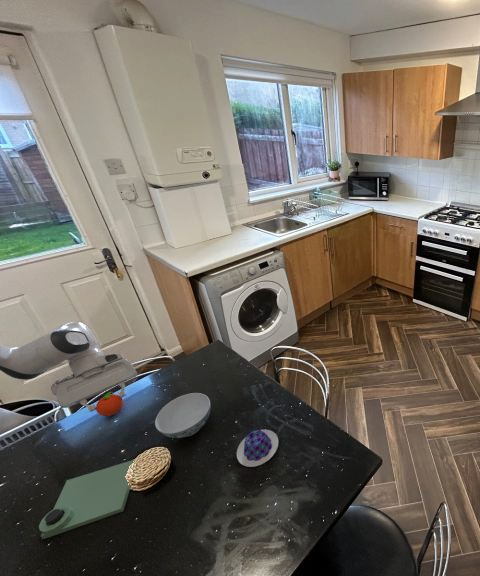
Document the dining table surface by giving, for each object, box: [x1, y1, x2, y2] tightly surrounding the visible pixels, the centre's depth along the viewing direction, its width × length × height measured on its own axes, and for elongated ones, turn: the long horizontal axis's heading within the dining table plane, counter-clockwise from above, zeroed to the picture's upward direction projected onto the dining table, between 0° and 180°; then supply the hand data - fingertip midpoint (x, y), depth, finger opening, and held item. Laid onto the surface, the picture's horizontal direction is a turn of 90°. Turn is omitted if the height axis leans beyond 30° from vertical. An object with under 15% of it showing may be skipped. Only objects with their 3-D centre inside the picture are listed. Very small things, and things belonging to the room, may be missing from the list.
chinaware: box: [154, 392, 212, 439], centre depth 99 cm, size 15×15×8 cm
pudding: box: [236, 429, 279, 468], centre depth 93 cm, size 12×12×5 cm
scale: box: [38, 459, 135, 540], centre depth 82 cm, size 16×14×3 cm
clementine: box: [95, 391, 124, 417], centre depth 104 cm, size 8×7×7 cm
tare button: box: [45, 509, 64, 525], centre depth 75 cm, size 3×3×2 cm
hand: (108, 403), depth 103 cm, fingers closed on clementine, 6 cm apart
